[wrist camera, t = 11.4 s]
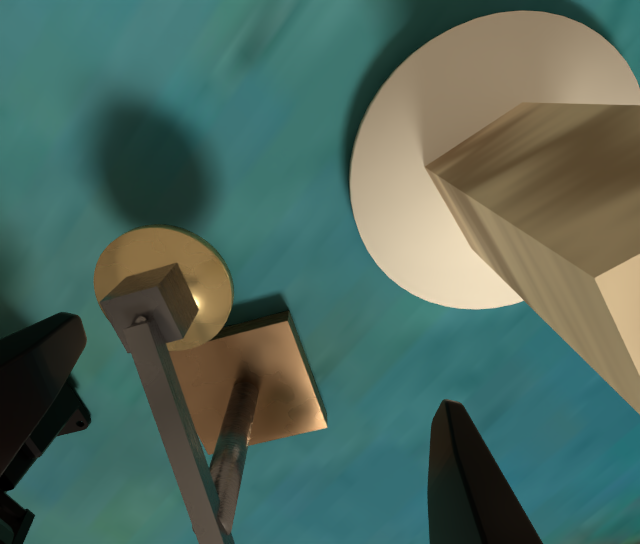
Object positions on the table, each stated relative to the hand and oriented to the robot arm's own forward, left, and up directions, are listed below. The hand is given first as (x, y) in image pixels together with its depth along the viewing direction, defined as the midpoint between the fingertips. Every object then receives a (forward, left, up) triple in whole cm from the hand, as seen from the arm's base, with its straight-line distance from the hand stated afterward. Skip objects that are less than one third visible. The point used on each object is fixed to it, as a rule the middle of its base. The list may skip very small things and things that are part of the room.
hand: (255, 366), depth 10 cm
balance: (-6, -9, -13) cm, 17 cm away
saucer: (+10, -1, -13) cm, 16 cm away
